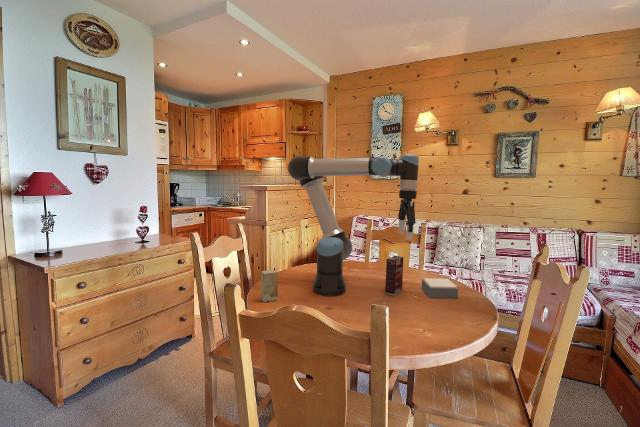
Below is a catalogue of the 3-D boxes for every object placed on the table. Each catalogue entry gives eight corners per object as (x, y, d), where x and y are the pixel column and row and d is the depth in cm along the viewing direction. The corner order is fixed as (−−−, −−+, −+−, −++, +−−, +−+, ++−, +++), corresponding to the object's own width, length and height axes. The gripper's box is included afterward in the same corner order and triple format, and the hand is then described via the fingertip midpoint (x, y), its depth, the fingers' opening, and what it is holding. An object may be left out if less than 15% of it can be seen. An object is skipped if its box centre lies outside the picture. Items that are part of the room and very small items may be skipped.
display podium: (429, 297, 139) (429, 286, 138) (421, 288, 151) (422, 278, 150) (457, 298, 138) (458, 287, 138) (447, 289, 150) (448, 278, 150)
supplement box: (394, 296, 141) (396, 260, 139) (384, 293, 144) (385, 258, 142) (402, 291, 147) (404, 256, 146) (393, 288, 150) (394, 255, 149)
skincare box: (263, 302, 132) (263, 273, 131) (260, 299, 136) (260, 271, 135) (278, 300, 135) (278, 271, 134) (275, 296, 139) (274, 269, 138)
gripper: (425, 191, 132) (421, 242, 135) (408, 189, 157) (405, 232, 159) (407, 190, 132) (404, 241, 135) (393, 188, 157) (390, 231, 159)
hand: (405, 236), depth 147 cm, fingers open, 13 cm apart
